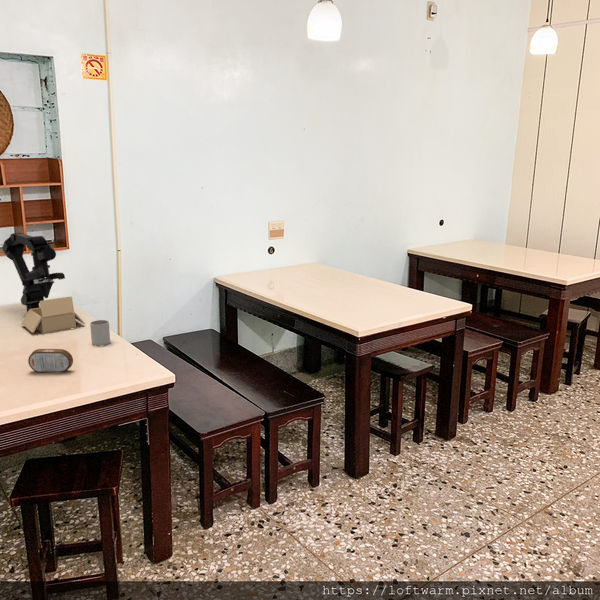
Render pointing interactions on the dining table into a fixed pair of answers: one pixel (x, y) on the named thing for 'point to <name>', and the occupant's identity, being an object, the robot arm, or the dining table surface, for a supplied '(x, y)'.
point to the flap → (56, 306)
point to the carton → (49, 321)
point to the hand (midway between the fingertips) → (46, 298)
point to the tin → (50, 360)
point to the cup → (100, 332)
